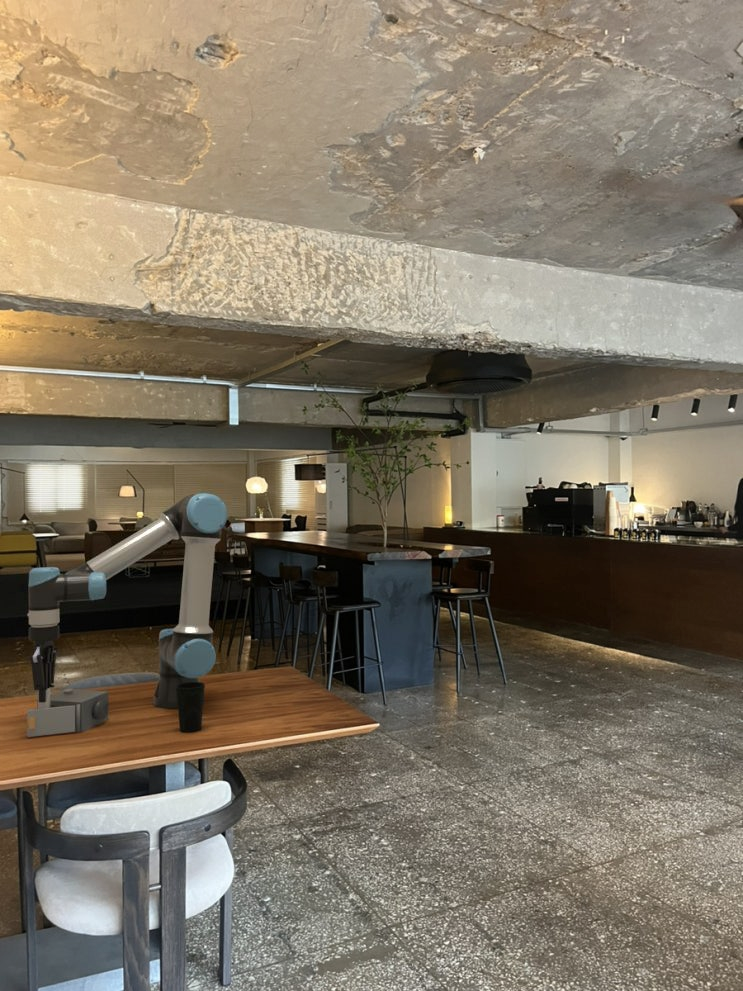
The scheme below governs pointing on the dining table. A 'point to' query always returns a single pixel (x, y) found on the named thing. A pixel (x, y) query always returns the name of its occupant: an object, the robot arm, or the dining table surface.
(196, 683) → the cup
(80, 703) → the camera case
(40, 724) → the side door
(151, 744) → the dining table surface
